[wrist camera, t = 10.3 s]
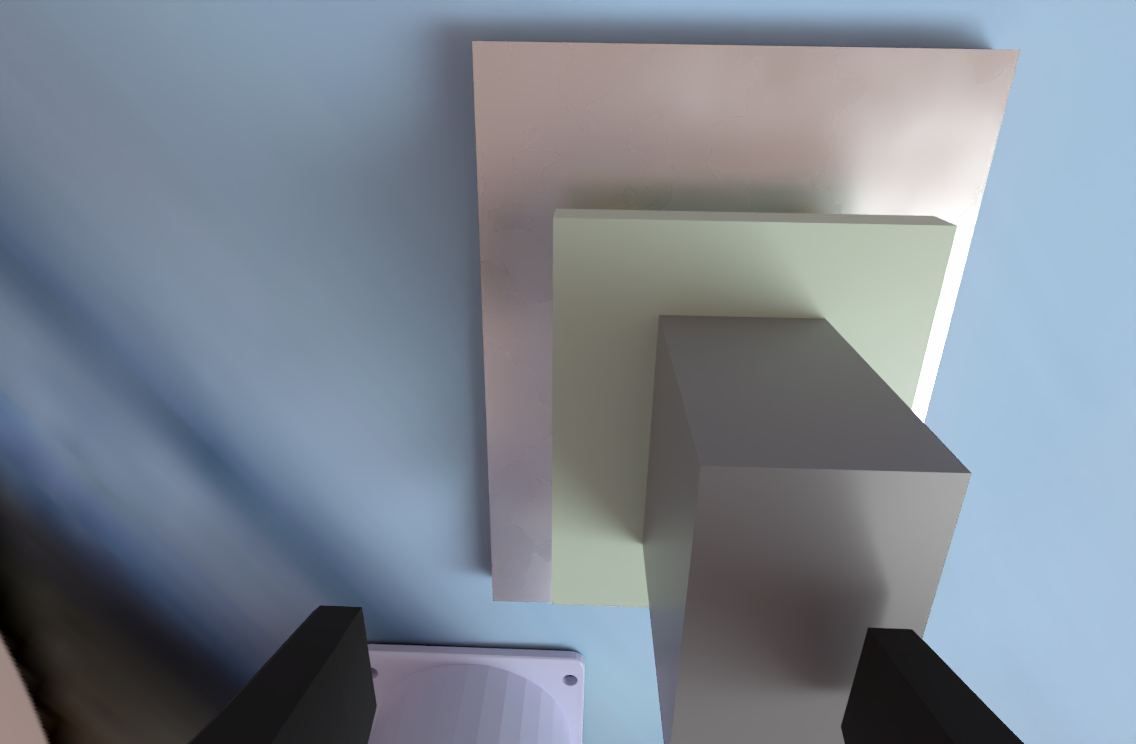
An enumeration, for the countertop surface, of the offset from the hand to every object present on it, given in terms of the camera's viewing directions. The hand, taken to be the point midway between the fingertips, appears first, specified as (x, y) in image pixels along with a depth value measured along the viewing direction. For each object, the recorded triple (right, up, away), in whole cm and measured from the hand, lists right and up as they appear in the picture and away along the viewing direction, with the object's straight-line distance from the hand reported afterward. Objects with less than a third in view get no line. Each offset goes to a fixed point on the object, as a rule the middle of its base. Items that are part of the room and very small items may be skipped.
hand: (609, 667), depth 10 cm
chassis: (+3, +5, +9) cm, 11 cm away
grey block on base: (+3, +3, +7) cm, 8 cm away
